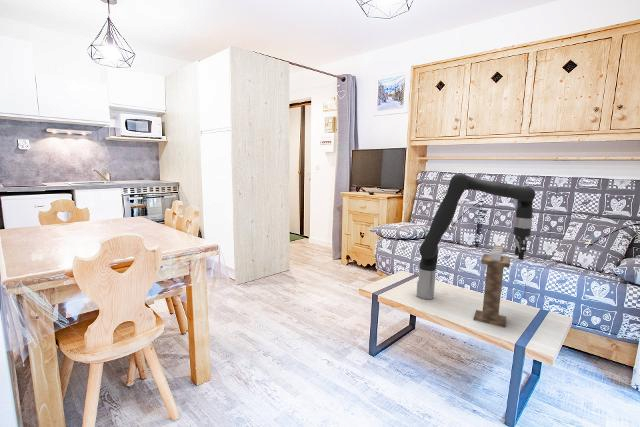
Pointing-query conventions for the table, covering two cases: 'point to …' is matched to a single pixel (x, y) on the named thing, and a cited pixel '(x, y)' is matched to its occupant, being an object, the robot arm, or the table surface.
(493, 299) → the tall stand
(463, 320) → the table surface
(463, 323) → the table surface
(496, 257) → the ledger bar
